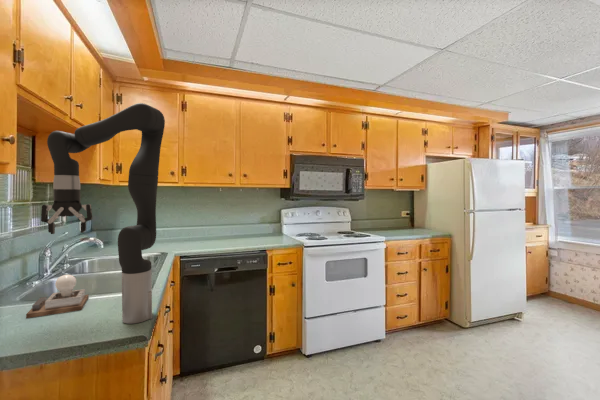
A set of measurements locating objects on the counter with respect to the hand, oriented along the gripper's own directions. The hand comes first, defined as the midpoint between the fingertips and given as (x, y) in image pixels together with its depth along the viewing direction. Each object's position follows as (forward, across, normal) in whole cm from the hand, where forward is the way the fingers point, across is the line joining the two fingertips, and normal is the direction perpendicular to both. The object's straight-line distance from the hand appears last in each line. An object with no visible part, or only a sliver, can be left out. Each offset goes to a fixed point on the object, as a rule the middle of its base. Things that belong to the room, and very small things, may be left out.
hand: (68, 233), depth 104 cm
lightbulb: (+29, -3, +11) cm, 31 cm away
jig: (+30, -5, +11) cm, 32 cm away
